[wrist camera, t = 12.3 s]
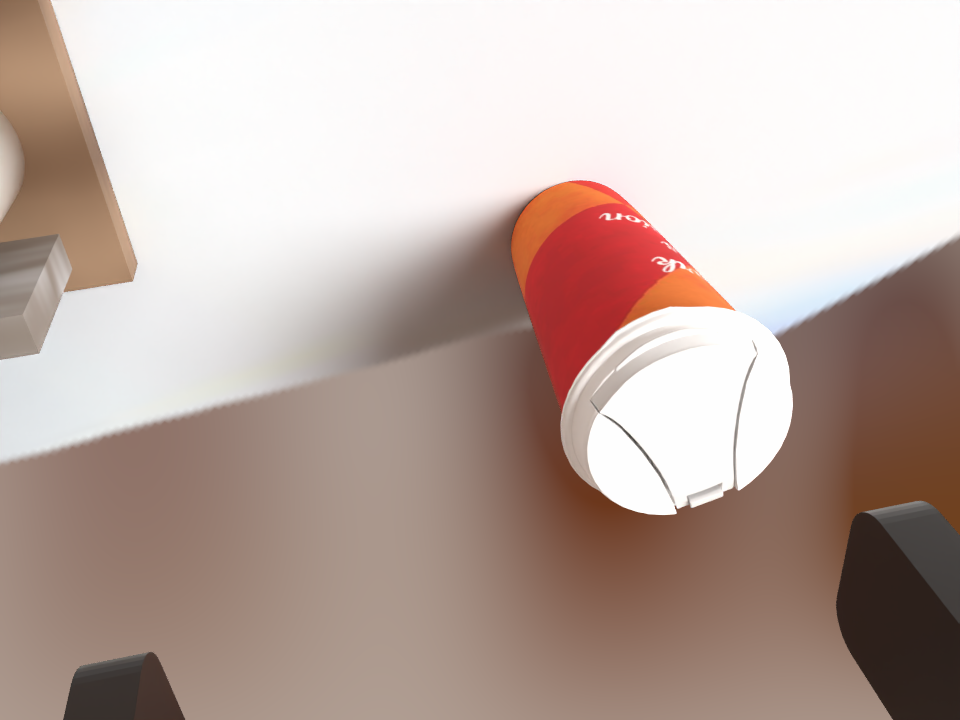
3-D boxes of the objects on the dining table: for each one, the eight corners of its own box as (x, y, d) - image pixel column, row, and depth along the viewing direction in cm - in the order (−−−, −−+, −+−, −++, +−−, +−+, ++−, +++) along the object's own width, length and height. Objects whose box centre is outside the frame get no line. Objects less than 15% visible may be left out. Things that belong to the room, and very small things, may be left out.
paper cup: (671, 279, 42) (819, 476, 31) (515, 339, 42) (603, 557, 31) (635, 124, 38) (793, 287, 26) (460, 192, 38) (541, 383, 26)
